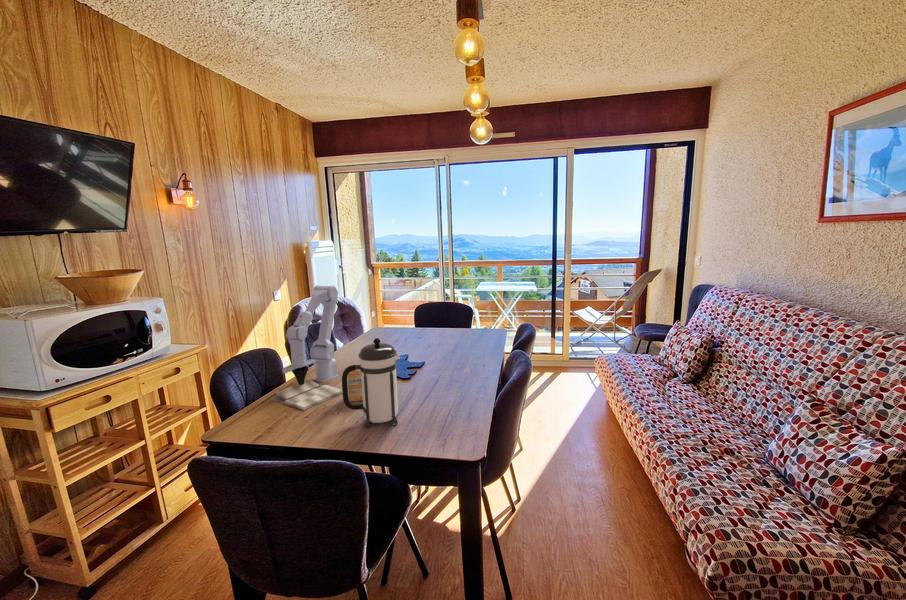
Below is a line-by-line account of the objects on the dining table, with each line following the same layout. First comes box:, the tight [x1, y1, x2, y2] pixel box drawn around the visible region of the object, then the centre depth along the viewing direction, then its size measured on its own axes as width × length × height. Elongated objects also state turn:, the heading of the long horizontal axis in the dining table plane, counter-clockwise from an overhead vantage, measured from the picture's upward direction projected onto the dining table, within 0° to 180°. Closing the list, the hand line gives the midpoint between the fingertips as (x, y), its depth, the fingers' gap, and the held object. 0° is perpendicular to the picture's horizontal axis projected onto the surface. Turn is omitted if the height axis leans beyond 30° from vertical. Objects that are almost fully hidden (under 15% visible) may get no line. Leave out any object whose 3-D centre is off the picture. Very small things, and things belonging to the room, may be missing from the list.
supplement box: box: [347, 369, 363, 403], centre depth 147 cm, size 8×5×13 cm, turn 105°
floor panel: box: [270, 384, 343, 412], centre depth 151 cm, size 20×22×2 cm
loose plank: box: [275, 379, 320, 400], centre depth 155 cm, size 16×7×1 cm, turn 148°
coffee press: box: [341, 337, 402, 429], centre depth 127 cm, size 17×16×30 cm
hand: (301, 384), depth 157 cm, fingers closed
